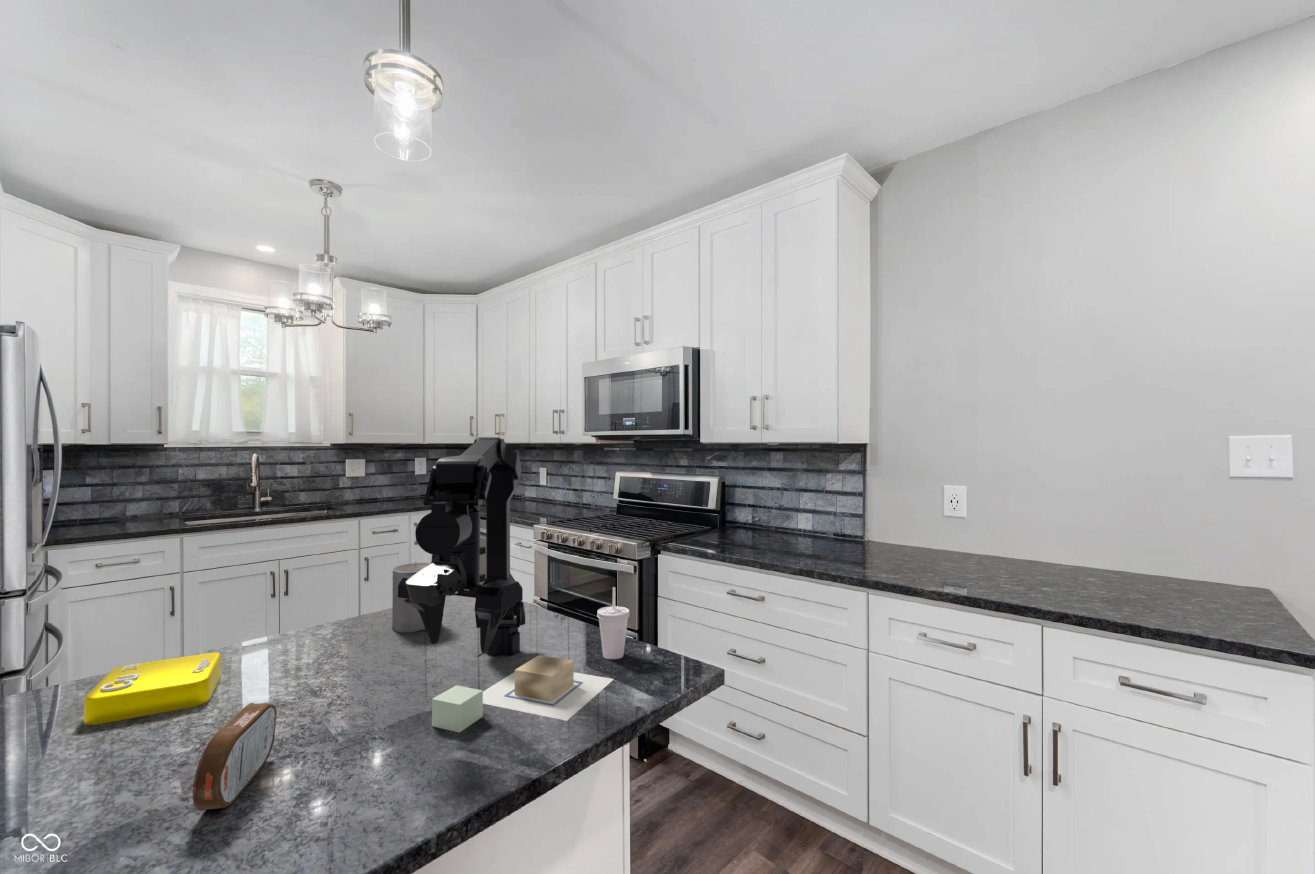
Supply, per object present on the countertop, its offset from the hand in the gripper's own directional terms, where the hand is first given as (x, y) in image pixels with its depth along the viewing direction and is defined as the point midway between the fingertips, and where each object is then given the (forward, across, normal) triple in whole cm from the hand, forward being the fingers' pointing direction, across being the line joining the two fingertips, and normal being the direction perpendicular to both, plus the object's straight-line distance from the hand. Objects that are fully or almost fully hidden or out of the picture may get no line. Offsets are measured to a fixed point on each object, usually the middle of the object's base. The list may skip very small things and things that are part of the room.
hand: (459, 647), depth 83 cm
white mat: (+12, +6, +14) cm, 19 cm away
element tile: (+12, -53, -10) cm, 56 cm away
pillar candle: (+12, -42, +34) cm, 55 cm away
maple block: (+11, +6, +14) cm, 19 cm away
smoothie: (+12, +10, +32) cm, 36 cm away
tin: (+12, -15, -21) cm, 29 cm away
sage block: (+12, 0, 0) cm, 12 cm away
